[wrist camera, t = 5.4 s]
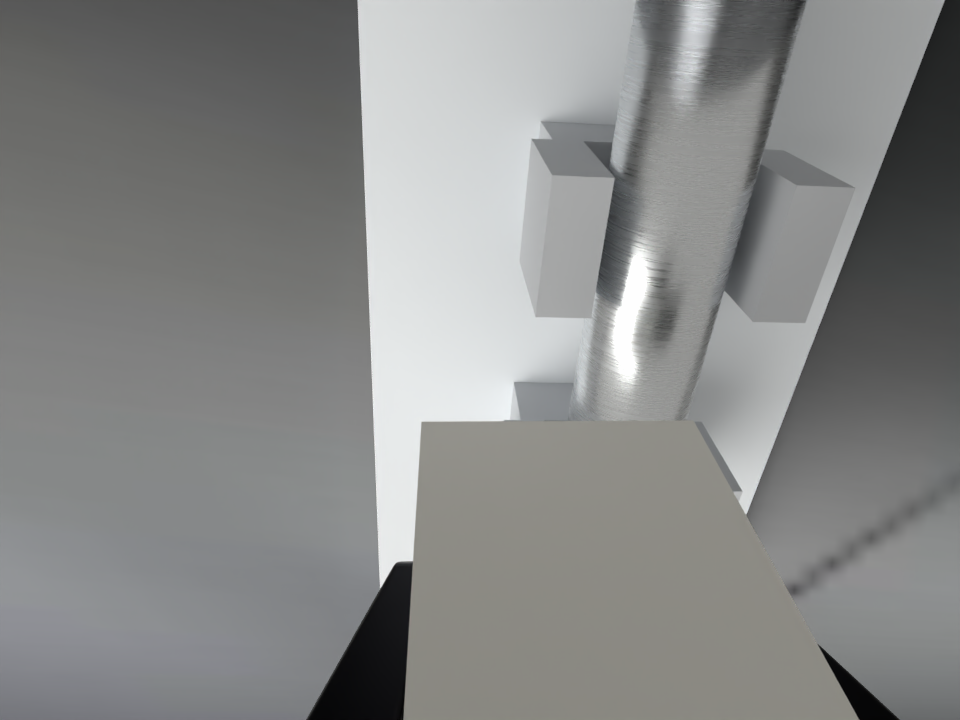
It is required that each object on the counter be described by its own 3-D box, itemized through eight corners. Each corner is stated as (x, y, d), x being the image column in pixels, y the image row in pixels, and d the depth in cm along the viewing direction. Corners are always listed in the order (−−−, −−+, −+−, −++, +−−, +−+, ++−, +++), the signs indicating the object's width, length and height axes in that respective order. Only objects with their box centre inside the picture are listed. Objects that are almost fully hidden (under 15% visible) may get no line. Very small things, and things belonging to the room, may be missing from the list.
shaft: (505, 508, 22) (523, 639, 18) (572, -106, 13) (641, -143, 9) (647, 508, 22) (698, 636, 18) (808, -87, 13) (985, -114, 9)
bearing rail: (384, 636, 28) (373, 782, 23) (352, -258, 13) (300, -405, 8) (686, 631, 30) (738, 769, 24) (989, -197, 14) (1302, -289, 9)
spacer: (426, 603, 11) (412, 990, 7) (421, 421, 9) (397, 813, 5) (649, 599, 11) (768, 972, 7) (693, 420, 9) (901, 795, 5)
